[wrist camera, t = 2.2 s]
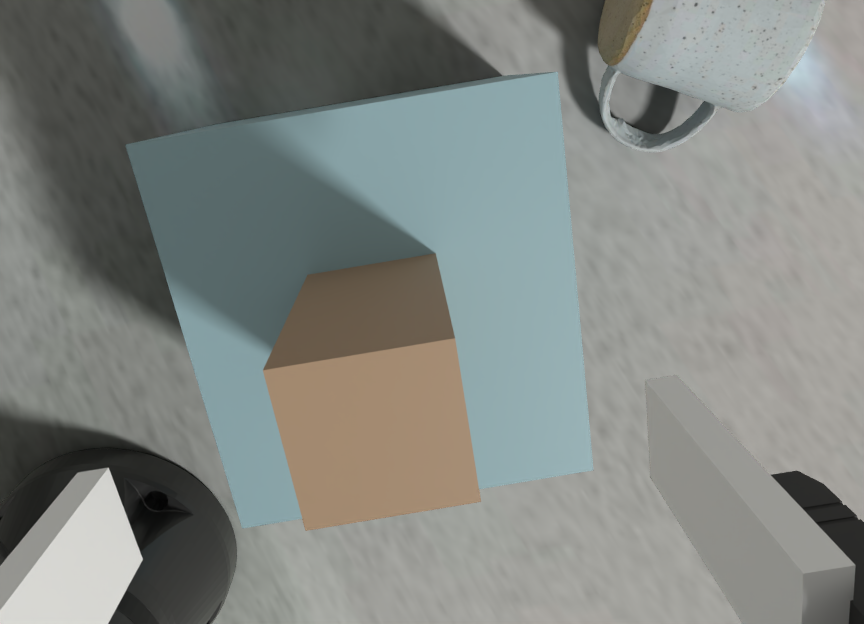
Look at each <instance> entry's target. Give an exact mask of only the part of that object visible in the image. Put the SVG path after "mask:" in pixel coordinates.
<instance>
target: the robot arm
mask: <svg viewBox="0 0 864 624" xmlns="http://www.w3.org/2000/svg"><path fill="white" fill-rule="evenodd" d="M645 390H646V408H647V426H648V443H649V461H650V478H651V479H652V481H653V482H654V484H655V485H656V487H657V489H658V490H659V492H660V493H661V495H662V497H663V498H664V500H665V501H666V503H667V504H668V506H669V508H670V509H671V511H672V512H673V514H674V516H675V517H676V519H677V520H678V522H679V524H680V525H681V527H682V528H683V530H684V531H685V533H686V535H687V536H688V538H689V539H690V541H691V543H692V544H693V546H694V547H695V549H696V550H697V552H698V554H699V555H700V557H701V558H702V560H703V562H704V563H705V565H706V566H707V568H708V570H709V571H710V573H711V574H712V576H713V577H714V579H715V581H716V582H717V584H718V585H719V587H720V589H721V590H722V592H723V593H724V595H725V596H726V598H727V600H728V601H729V603H730V604H731V606H732V608H733V609H734V611H735V612H736V614H737V615H738V617H739V619H740V620H741V622H742V623H743V624H864V522H863V521H862V520H861V519H860V520H858V518H857V515H856V514H854V513H853V512H852V511H851V510H850V509H849V508H848V507H847V506H846V505H843V504H842V501H841V500H840V499H839V498H838V497H837V496H836V495H835V494H833V493H832V492H831V491H830V490H829V489H828V488H827V487H826V486H825V485H824V484H822V483H820V482H819V481H817V480H815V479H813V478H811V477H809V476H807V475H805V474H803V473H801V472H799V471H792V472H786V473H780V474H773V475H770V474H769V473H768V472H767V471H766V470H765V468H764V467H763V466H762V465H761V464H760V463H759V462H758V461H757V460H756V459H755V458H754V457H753V456H752V455H751V454H750V452H749V451H748V450H747V449H746V448H745V447H744V446H743V445H742V444H741V443H740V442H739V441H738V440H737V439H736V438H735V437H734V435H733V434H732V433H731V432H730V431H729V430H728V429H727V428H726V427H725V426H724V425H723V424H722V423H721V422H720V421H719V420H718V418H717V417H716V416H715V415H714V414H713V413H712V412H711V411H710V410H709V409H708V408H707V407H706V406H705V405H704V404H703V403H702V401H701V400H700V399H699V398H698V397H697V396H696V395H695V394H694V393H693V392H692V391H691V390H690V389H689V388H688V387H687V386H686V384H685V383H684V382H683V381H682V380H681V379H680V378H679V377H678V376H677V375H673V376H667V377H660V378H654V379H648V380H645ZM236 561H237V547H236V539H235V535H234V531H233V528H232V525H231V522H230V520H229V518H228V516H227V514H226V512H225V511H224V509H223V507H222V506H221V504H220V503H219V502H218V500H217V499H216V498H215V496H214V495H213V494H212V493H211V492H210V491H209V490H208V489H207V488H206V487H205V486H204V485H203V484H202V483H201V482H199V481H198V480H197V479H196V478H194V477H193V476H192V475H190V474H189V473H187V472H186V471H184V470H183V469H181V468H179V467H177V466H175V465H174V464H171V463H169V462H167V461H165V460H162V459H160V458H157V457H154V456H151V455H148V454H144V453H141V452H136V451H131V450H123V449H111V448H101V449H89V450H82V451H77V452H73V453H69V454H66V455H63V456H60V457H57V458H55V459H53V460H51V461H49V462H47V463H45V464H43V465H41V466H40V467H38V468H37V469H35V470H34V471H33V472H32V473H30V474H29V475H28V476H27V477H26V478H25V479H24V480H23V481H22V482H21V483H20V484H19V485H18V486H17V487H16V488H15V489H14V490H13V491H12V492H11V494H10V495H9V496H8V497H7V498H6V499H5V500H4V501H3V502H2V504H1V505H0V624H212V622H213V621H214V620H215V618H216V617H217V615H218V613H219V612H220V610H221V608H222V606H223V604H224V602H225V599H226V597H227V594H228V591H229V588H230V585H231V582H232V579H233V576H234V572H235V568H236Z"/></svg>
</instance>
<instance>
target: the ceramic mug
mask: <svg viewBox="0 0 864 624" xmlns="http://www.w3.org/2000/svg"><path fill="white" fill-rule="evenodd" d="M825 3H826V0H605V3H604V7H603V11H602V15H601V19H600V25H599V32H598V48H599V53H600V55H601V57H602V59H603V61H604V62H605V63H606V64H608V67H607V69H606V71H605V73H604V75H603V78H602V82H601V87H600V93H599V106H600V113H601V118H602V120H603V123H604V125H605V127H606V129H607V130H608V132H609V133H610V134H611V135H612V137H613V138H614V139H616V140H617V141H618V142H620V143H621V144H623V145H625V146H627V147H630V148H633V149H635V150H638V151H643V152H661V151H665V150H668V149H671V148H673V147H676V146H678V145H680V144H682V143H684V142H685V141H687V140H688V139H690V138H691V137H693V136H694V135H695V134H696V133H697V132H699V131H700V130H701V129H702V128H703V127H704V126H705V125H706V123H707V122H708V121H709V120H710V119H711V118H712V117H713V115H714V114H715V113H716V112H717V110H718V109H719V108H722V107H723V108H726V109H729V110H731V111H735V112H747V111H751V110H753V109H755V108H757V107H759V106H760V105H762V104H763V103H764V102H766V101H767V100H769V98H770V97H771V96H772V95H773V94H774V93H775V92H776V91H777V90H778V89H779V88H780V87H781V86H782V85H783V83H784V82H785V81H786V80H787V78H788V77H789V75H790V74H791V73H792V71H793V70H794V69H795V67H796V66H797V64H798V63H799V61H800V59H801V58H802V56H803V55H804V53H805V51H806V49H807V47H808V45H809V43H810V41H811V39H812V37H813V35H814V33H815V31H816V29H817V27H818V24H819V22H820V19H821V16H822V13H823V9H824V6H825ZM619 73H623V74H625V75H628V76H630V77H633V78H636V79H639V80H642V81H645V82H649V83H652V84H656V85H659V86H662V87H666V88H669V89H672V90H675V91H677V92H680V93H683V94H685V95H688V96H690V97H693V98H697V99H700V100H703V101H704V102H703V103H702V105H701V106H700V107H699V108H698V109H697V110H696V112H695V113H694V114H693V115H692V116H691V117H690V118H688V119H687V120H686V121H685V122H684V123H683V124H682V125H680V126H678V127H677V128H675V129H673V130H671V131H669V132H666V133H663V134H649V133H647V132H644V131H641V130H639V129H636V128H633V127H631V126H630V125H628V124H626V123H625V121H624V120H623V119H619V118H618V119H615V118H613V117H612V116H611V115H610V108H609V100H610V96H611V92H612V88H613V85H614V83H615V81H616V77H617V76H618V75H619Z"/></svg>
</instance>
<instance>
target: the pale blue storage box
mask: <svg viewBox="0 0 864 624" xmlns="http://www.w3.org/2000/svg"><path fill="white" fill-rule="evenodd" d="M125 146H126V149H127V152H128V155H129V159H130V162H131V165H132V168H133V172H134V175H135V178H136V182H137V185H138V188H139V191H140V195H141V198H142V201H143V205H144V208H145V211H146V214H147V218H148V221H149V224H150V227H151V231H152V234H153V237H154V241H155V244H156V247H157V250H158V254H159V257H160V260H161V264H162V267H163V270H164V273H165V277H166V280H167V283H168V286H169V290H170V293H171V296H172V300H173V303H174V306H175V309H176V313H177V316H178V319H179V323H180V326H181V329H182V332H183V336H184V339H185V342H186V345H187V349H188V352H189V355H190V359H191V362H192V365H193V368H194V372H195V375H196V378H197V382H198V385H199V388H200V391H201V395H202V398H203V401H204V404H205V408H206V411H207V414H208V418H209V421H210V424H211V427H212V431H213V434H214V437H215V440H216V444H217V447H218V450H219V454H220V457H221V460H222V463H223V467H224V470H225V473H226V477H227V480H228V483H229V486H230V490H231V493H232V496H233V499H234V503H235V506H236V509H237V513H238V516H239V519H240V522H241V526H242V528H248V527H254V526H260V525H266V524H272V523H278V522H284V521H290V520H296V519H303V523H304V527H305V530H306V531H307V530H313V529H319V528H325V527H331V526H337V525H343V524H349V523H356V522H362V521H368V520H374V519H380V518H386V517H392V516H398V515H404V514H410V513H416V512H422V511H428V510H434V509H440V508H446V507H452V506H458V505H464V504H470V503H476V502H481V498H480V492H479V489H483V488H489V487H495V486H501V485H507V484H513V483H520V482H526V481H532V480H538V479H544V478H550V477H556V476H562V475H568V474H574V473H580V472H586V471H592V470H593V460H592V449H591V438H590V427H589V415H588V404H587V393H586V382H585V371H584V360H583V349H582V338H581V326H580V315H579V304H578V293H577V282H576V271H575V260H574V249H573V238H572V226H571V215H570V204H569V193H568V182H567V171H566V160H565V149H564V138H563V126H562V115H561V104H560V93H559V82H558V72H548V73H535V74H521V75H508V76H499V77H493V78H487V79H481V80H475V81H470V82H464V83H458V84H452V85H446V86H440V87H434V88H428V89H422V90H416V91H410V92H404V93H398V94H392V95H386V96H381V97H375V98H369V99H363V100H357V101H351V102H345V103H339V104H333V105H327V106H321V107H315V108H309V109H303V110H297V111H292V112H286V113H280V114H274V115H268V116H262V117H256V118H250V119H244V120H238V121H232V122H226V123H220V124H215V125H211V126H206V127H202V128H197V129H193V130H188V131H184V132H179V133H175V134H170V135H166V136H162V137H157V138H153V139H148V140H144V141H139V142H135V143H130V144H126V145H125Z"/></svg>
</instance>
